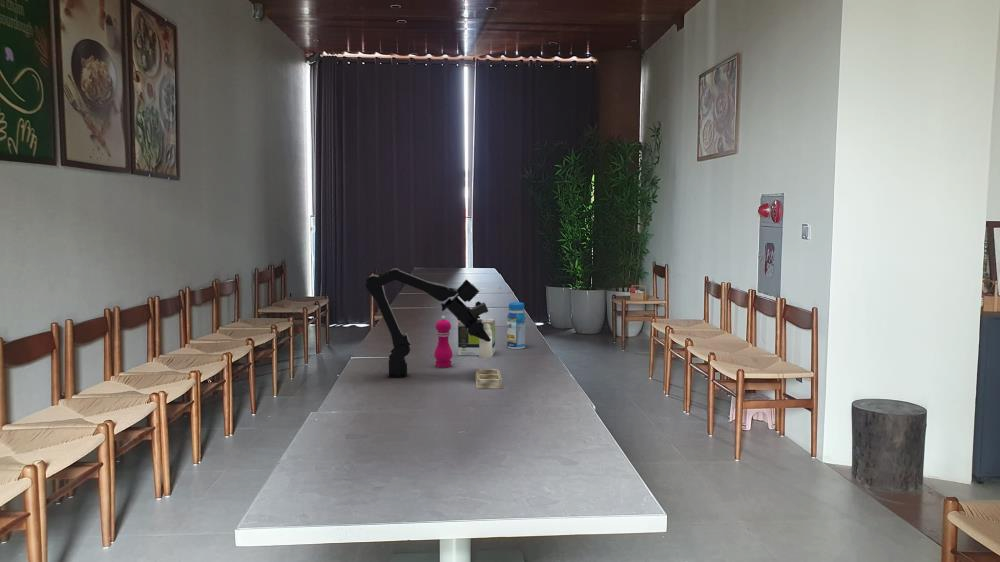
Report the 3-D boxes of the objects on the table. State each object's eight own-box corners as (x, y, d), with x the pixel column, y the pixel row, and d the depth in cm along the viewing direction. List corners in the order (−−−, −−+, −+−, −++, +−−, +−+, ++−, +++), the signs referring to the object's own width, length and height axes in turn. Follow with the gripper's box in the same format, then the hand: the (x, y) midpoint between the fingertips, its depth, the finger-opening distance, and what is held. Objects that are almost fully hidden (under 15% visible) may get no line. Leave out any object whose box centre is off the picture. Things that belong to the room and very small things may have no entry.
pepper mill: (453, 364, 301) (453, 314, 299) (450, 368, 294) (450, 317, 292) (436, 363, 302) (436, 314, 300) (432, 367, 295) (432, 317, 292)
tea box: (495, 351, 326) (495, 318, 324) (492, 356, 316) (493, 321, 314) (461, 350, 327) (461, 317, 326) (457, 355, 317) (457, 321, 316)
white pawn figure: (479, 358, 281) (479, 324, 279) (479, 355, 285) (479, 322, 284) (492, 358, 281) (492, 324, 280) (491, 355, 286) (491, 322, 284)
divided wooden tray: (476, 388, 262) (476, 380, 262) (475, 377, 279) (475, 369, 279) (502, 388, 263) (502, 380, 263) (499, 376, 280) (499, 369, 280)
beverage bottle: (525, 349, 331) (526, 304, 329) (506, 349, 332) (506, 304, 329) (525, 345, 340) (525, 301, 338) (506, 345, 340) (507, 301, 338)
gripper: (477, 298, 271) (507, 328, 273) (473, 292, 290) (502, 320, 292) (455, 320, 271) (485, 350, 273) (453, 312, 290) (481, 340, 292)
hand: (489, 339), depth 283 cm, fingers closed on white pawn figure, 5 cm apart
